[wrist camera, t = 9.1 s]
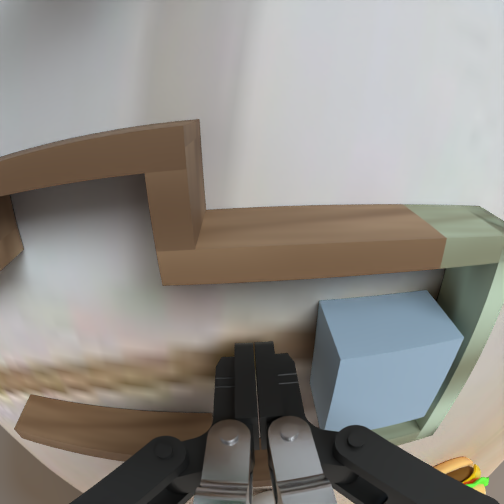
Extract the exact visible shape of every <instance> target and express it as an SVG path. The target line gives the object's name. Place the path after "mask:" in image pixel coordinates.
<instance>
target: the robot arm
mask: <svg viewBox="0 0 504 504" xmlns="http://www.w3.org/2000/svg"><path fill="white" fill-rule="evenodd" d="M255 361H256V379H257V394H258V408H259V422H260V436H261V450H265V449H267V455H268V470H269V475H270V481H271V486H272V492H273V497H274V503H275V504H337V501H336V498H335V495H334V491H333V488H334V489H335V490H336V491H338V492H339V493H340V494H342V495H343V496H345V497H346V498H348V499H349V500H351V501H352V502H353V503H355V504H499V503H498V502H497V501H496V500H495V499H493V498H491V497H489V496H487V495H485V494H483V493H481V492H479V491H477V490H475V489H473V488H471V487H469V486H467V485H465V484H463V483H461V482H459V481H458V480H456V479H454V478H452V477H450V476H448V475H446V474H445V473H443V472H441V471H439V470H437V469H435V468H434V467H432V466H430V465H428V464H427V463H425V462H423V461H421V460H420V459H418V458H416V457H414V456H413V455H411V454H409V453H408V452H406V451H404V450H403V449H401V448H399V447H398V446H396V445H394V444H393V443H391V442H389V441H388V440H386V439H385V438H383V437H381V436H380V435H378V434H376V433H375V432H373V431H372V430H370V429H369V428H367V427H364V426H361V425H350V426H347V427H345V428H343V429H342V430H340V431H339V432H338V431H330V430H323V429H320V428H317V427H315V426H313V425H312V424H311V423H310V422H309V421H308V420H307V419H306V417H305V414H304V409H303V404H302V399H301V393H300V388H299V383H298V378H297V374H296V368H295V363H294V361H293V360H292V358H291V357H290V356H289V355H288V353H283V354H275V351H274V344H273V341H268V342H255ZM254 450H260V447H259V428H258V411H257V396H256V381H255V366H254V350H253V343H235V357H222V358H221V359H220V361H219V363H218V364H217V366H216V375H215V393H214V412H213V422H212V425H211V427H210V428H209V430H208V431H207V432H206V433H204V434H203V435H201V436H199V437H196V438H193V439H189V440H185V441H180V440H179V439H177V438H175V437H172V436H159V437H156V438H154V439H152V440H151V441H150V442H149V443H147V444H146V445H145V446H144V447H143V448H141V449H140V450H139V451H138V452H136V453H135V454H134V455H133V456H131V457H130V458H129V459H128V460H126V461H125V462H124V463H123V464H121V465H120V466H119V467H118V468H116V469H115V470H114V471H113V472H111V473H110V474H109V475H107V476H106V477H105V478H103V479H102V480H101V481H100V482H98V483H97V484H96V485H94V486H93V487H92V488H90V489H89V490H88V491H86V492H85V493H83V494H82V495H81V496H79V497H78V498H77V499H75V500H74V501H72V502H71V503H70V504H185V503H186V502H187V501H188V500H189V499H190V498H191V497H192V496H193V495H194V502H193V504H252V498H253V473H254V466H255V454H254Z"/></svg>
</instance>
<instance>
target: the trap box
mask: <svg viewBox="0 0 504 504" xmlns="http://www.w3.org/2000/svg"><path fill="white" fill-rule="evenodd" d="M142 173H144V174H145V182H146V189H147V197H148V204H149V210H150V217H151V224H152V230H153V236H154V242H155V248H156V253H157V259H158V264H159V270H160V275H161V280H162V285H163V286H167V285H196V284H221V283H243V282H263V281H281V280H298V279H314V278H330V277H344V276H358V275H372V274H384V273H397V272H409V271H420V270H431V269H442V268H446V271H445V274H444V278H443V282H442V285H441V289H440V292H439V296H438V299H437V303H438V305H439V306H440V307H441V308H442V310H443V311H444V312H445V313H446V315H447V316H448V317H449V318H450V320H451V321H452V322H453V323H454V325H455V326H456V327H457V329H458V330H459V331H460V333H461V334H462V335H463V337H464V339H463V341H462V343H461V346H460V348H459V350H458V352H457V354H456V357H455V359H454V361H453V363H452V365H451V367H450V369H449V371H448V373H447V375H446V377H445V379H444V381H443V383H442V385H441V387H440V389H439V391H438V393H437V395H436V396H435V398H434V400H433V402H432V404H431V405H430V407H429V409H428V411H427V412H426V414H425V416H424V417H421V418H418V419H414V420H410V421H407V422H403V423H399V424H395V425H391V426H386V427H382V428H377V429H373V430H372V431H373V432H375V433H376V434H378V435H380V436H381V437H383V438H385V439H386V440H388V441H389V442H391V443H393V444H394V445H396V446H397V445H401V444H405V443H408V442H412V441H415V440H419V439H422V438H425V437H428V436H431V435H433V434H434V432H435V431H436V429H437V428H438V426H439V425H440V423H441V422H442V420H443V419H444V417H445V416H446V414H447V413H448V411H449V410H450V408H451V406H452V405H453V403H454V402H455V400H456V398H457V397H458V395H459V393H460V392H461V390H462V388H463V386H464V385H465V383H466V381H467V379H468V377H469V376H470V374H471V372H472V370H473V368H474V366H475V364H476V362H477V361H478V359H479V357H480V355H481V353H482V351H483V348H484V346H485V344H486V342H487V340H488V338H489V336H490V334H491V331H492V329H493V327H494V325H495V322H496V320H497V317H498V315H499V313H500V310H501V308H502V305H503V303H504V221H503V220H501V219H500V218H498V217H496V216H495V215H493V214H492V213H490V212H488V211H487V210H485V209H483V208H482V207H480V206H463V205H403V204H373V205H310V206H278V207H253V208H233V209H214V210H206V203H205V191H204V179H203V166H202V152H201V137H200V121H199V119H196V120H185V121H175V122H167V123H158V124H150V125H143V126H136V127H129V128H123V129H117V130H111V131H105V132H100V133H95V134H90V135H85V136H80V137H75V138H70V139H66V140H61V141H57V142H53V143H49V144H45V145H41V146H37V147H33V148H29V149H26V150H22V151H19V152H15V153H12V154H8V155H5V156H2V157H0V271H1V270H2V269H3V268H4V267H5V266H6V265H8V264H9V263H10V262H11V261H12V260H13V259H14V258H15V257H16V256H17V255H18V254H20V253H21V252H22V251H23V250H24V248H23V245H22V241H21V238H20V234H19V231H18V227H17V223H16V219H15V215H14V211H13V207H12V203H11V199H10V194H14V193H19V192H24V191H29V190H34V189H40V188H45V187H51V186H56V185H62V184H68V183H75V182H81V181H88V180H95V179H102V178H109V177H117V176H125V175H134V174H142ZM212 422H213V417H212V413H179V412H156V411H141V410H129V409H119V408H110V407H101V406H93V405H86V404H79V403H73V402H67V401H61V400H56V399H50V398H45V397H40V396H36V395H30V397H29V399H28V401H27V403H26V405H25V407H24V409H23V411H22V413H21V415H20V418H19V420H18V422H17V424H16V426H15V428H14V429H15V430H16V432H17V433H18V434H19V435H20V436H21V437H22V438H23V439H27V440H30V441H33V442H36V443H40V444H43V445H47V446H51V447H54V448H58V449H62V450H66V451H71V452H75V453H80V454H84V455H89V456H94V457H100V458H105V459H111V460H117V461H124V462H125V461H126V460H128V459H129V458H130V457H131V456H133V455H134V454H135V453H136V452H138V451H139V450H140V449H141V448H143V447H144V446H145V445H146V444H147V443H149V442H150V441H151V440H152V439H154V438H156V437H159V436H172V437H175V438H177V439H179V440H180V441H185V440H189V439H193V438H196V437H199V436H201V435H203V434H204V433H206V432H207V431H208V430H209V428H210V427H211V425H212ZM259 447H260V450H254V454H255V466H254V473H253V487H262V486H271V481H270V475H269V470H268V455H267V449H265V450H261V438H259Z"/></svg>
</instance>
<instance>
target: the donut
mask: <svg viewBox="0 0 504 504" xmlns="http://www.w3.org/2000/svg"><path fill="white" fill-rule="evenodd" d="M252 504H275V503H274V497H273V492H272V491H265V492H262V493H259V494H256V495H254V496H253V498H252Z"/></svg>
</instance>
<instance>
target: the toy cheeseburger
mask: <svg viewBox="0 0 504 504" xmlns="http://www.w3.org/2000/svg"><path fill="white" fill-rule="evenodd" d="M434 468H435V469H437V470H439V471H441V472H443V473H445V474H446V475H448V476H450V477H452V478H454V479H456V480H458V481H459V482H461V483H463V484H465V485H467V486H469V487H471V488H473V489H475V490H477V491H479V492H481V493H483V494H485V495H486V491H485V486H487V485H488V482H489V477H487V478H485V477H481V471H480V468H479V467H478V466H477V465H476V464H474V466H473V462H472V460H470V459H468V458H466V457H459V458H454V459H451V460H448V461H446V462H443V463H441V464H439V465H436V466H434ZM480 477H481V478H480Z"/></svg>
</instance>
